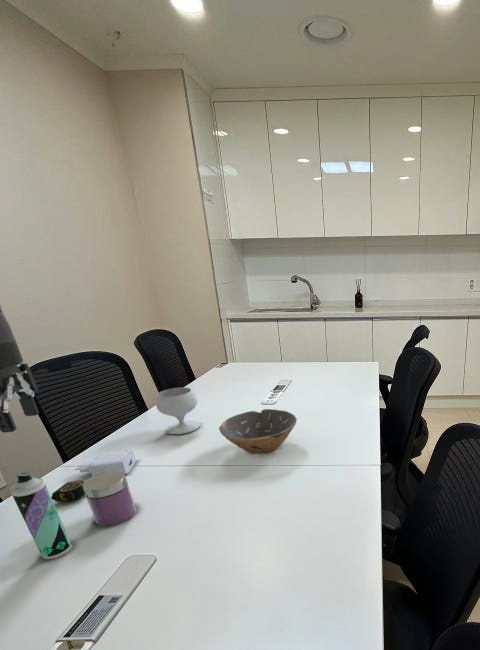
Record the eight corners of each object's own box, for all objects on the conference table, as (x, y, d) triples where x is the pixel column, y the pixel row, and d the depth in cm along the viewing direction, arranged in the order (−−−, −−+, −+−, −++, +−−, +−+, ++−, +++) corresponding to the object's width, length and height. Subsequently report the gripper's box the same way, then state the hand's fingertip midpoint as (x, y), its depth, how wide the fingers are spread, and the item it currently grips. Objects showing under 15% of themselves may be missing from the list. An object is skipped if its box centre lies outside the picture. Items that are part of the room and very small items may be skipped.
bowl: (238, 474, 117) (233, 445, 113) (215, 446, 135) (209, 420, 131) (312, 451, 130) (310, 423, 126) (282, 428, 148) (279, 403, 144)
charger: (84, 467, 124) (136, 461, 127) (71, 482, 115) (127, 475, 118) (79, 454, 122) (132, 448, 125) (66, 468, 113) (122, 461, 116)
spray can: (40, 551, 88) (3, 474, 79) (69, 539, 91) (37, 465, 83) (43, 563, 84) (5, 484, 76) (74, 550, 87) (40, 474, 79)
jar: (90, 529, 95) (76, 494, 90) (103, 508, 102) (91, 475, 98) (130, 522, 97) (118, 488, 92) (140, 502, 105) (130, 470, 100)
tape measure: (72, 490, 111) (67, 479, 110) (95, 490, 111) (91, 479, 109) (53, 504, 105) (48, 492, 103) (78, 504, 105) (73, 492, 103)
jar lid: (79, 500, 91) (75, 492, 90) (93, 482, 99) (90, 473, 98) (120, 494, 93) (117, 486, 92) (131, 476, 101) (128, 468, 100)
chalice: (189, 437, 143) (180, 398, 137) (155, 435, 145) (144, 397, 139) (209, 422, 156) (201, 386, 150) (178, 421, 158) (169, 386, 152)
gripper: (-14, 334, 75) (18, 412, 82) (-68, 349, 63) (-25, 440, 69) (32, 332, 77) (59, 408, 84) (-12, 346, 64) (24, 435, 71)
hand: (21, 422), depth 76 cm, fingers open, 8 cm apart
